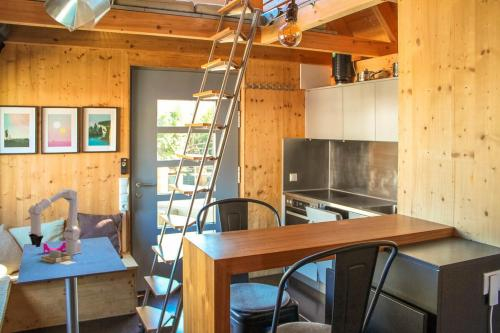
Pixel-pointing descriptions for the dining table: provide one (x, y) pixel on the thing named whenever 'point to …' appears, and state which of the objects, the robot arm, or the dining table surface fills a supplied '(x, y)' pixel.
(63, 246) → the toy block
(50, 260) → the wooden tray
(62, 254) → the offcut upper
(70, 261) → the mat
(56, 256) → the sheet
